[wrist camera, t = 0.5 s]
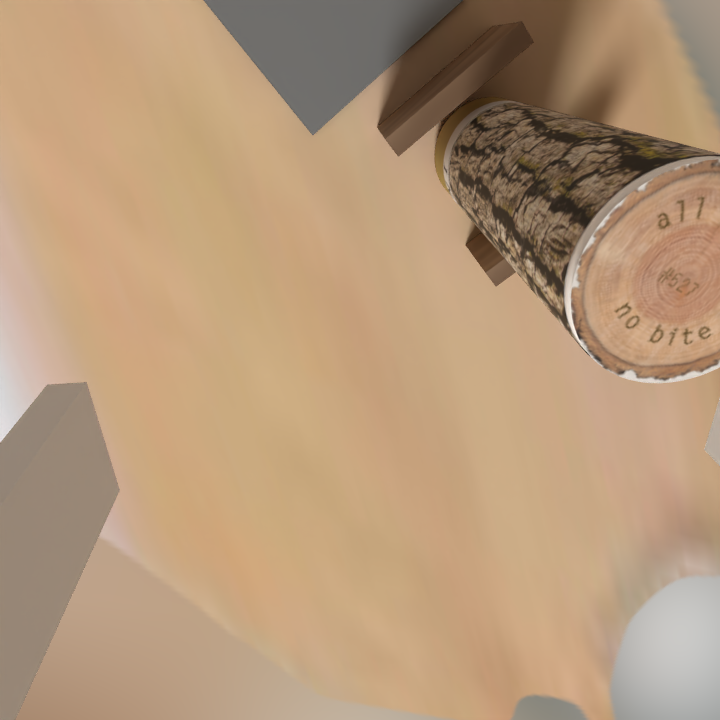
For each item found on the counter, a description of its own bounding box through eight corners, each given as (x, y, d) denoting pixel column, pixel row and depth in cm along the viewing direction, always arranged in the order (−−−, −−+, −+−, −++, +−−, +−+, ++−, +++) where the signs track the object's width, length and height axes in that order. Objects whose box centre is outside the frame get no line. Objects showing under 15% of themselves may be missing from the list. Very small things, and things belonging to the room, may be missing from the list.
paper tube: (469, 74, 37) (685, 107, 15) (554, 130, 39) (860, 234, 16) (413, 172, 39) (522, 326, 17) (494, 220, 41) (689, 415, 19)
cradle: (377, 127, 38) (385, 139, 33) (492, 26, 36) (521, 21, 30) (474, 257, 42) (496, 286, 37) (583, 175, 40) (622, 193, 35)
